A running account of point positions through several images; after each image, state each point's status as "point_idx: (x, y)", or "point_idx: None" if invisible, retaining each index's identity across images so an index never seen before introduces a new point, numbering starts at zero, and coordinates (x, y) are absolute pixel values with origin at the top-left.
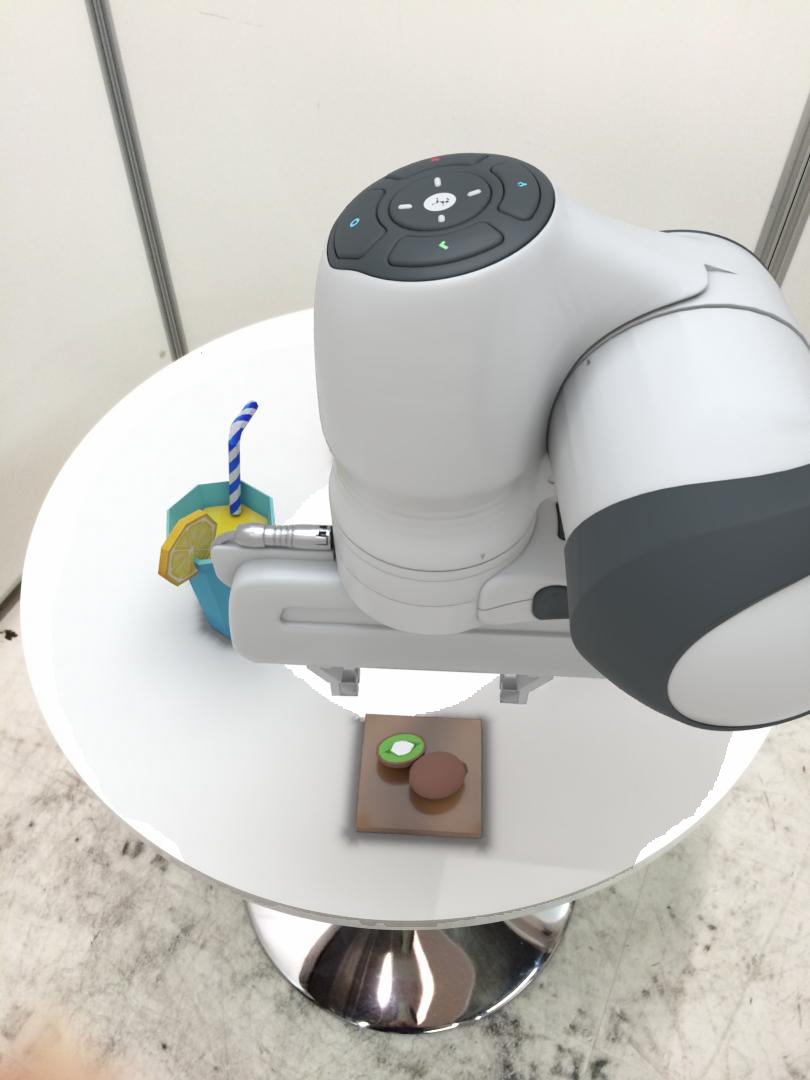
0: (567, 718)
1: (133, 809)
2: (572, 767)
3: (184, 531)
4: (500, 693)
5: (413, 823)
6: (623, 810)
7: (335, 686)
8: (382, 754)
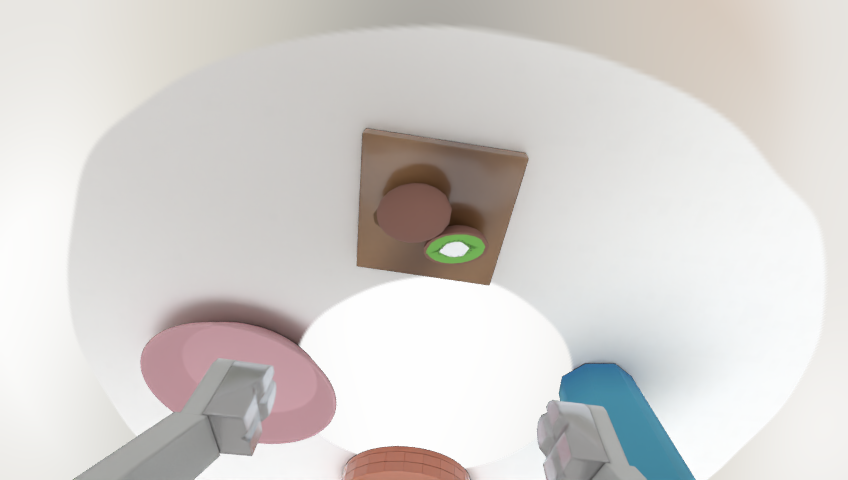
0: (261, 254)
1: (797, 207)
2: (252, 202)
3: None
4: (264, 387)
5: (451, 155)
6: (186, 145)
7: (612, 448)
8: (480, 244)
